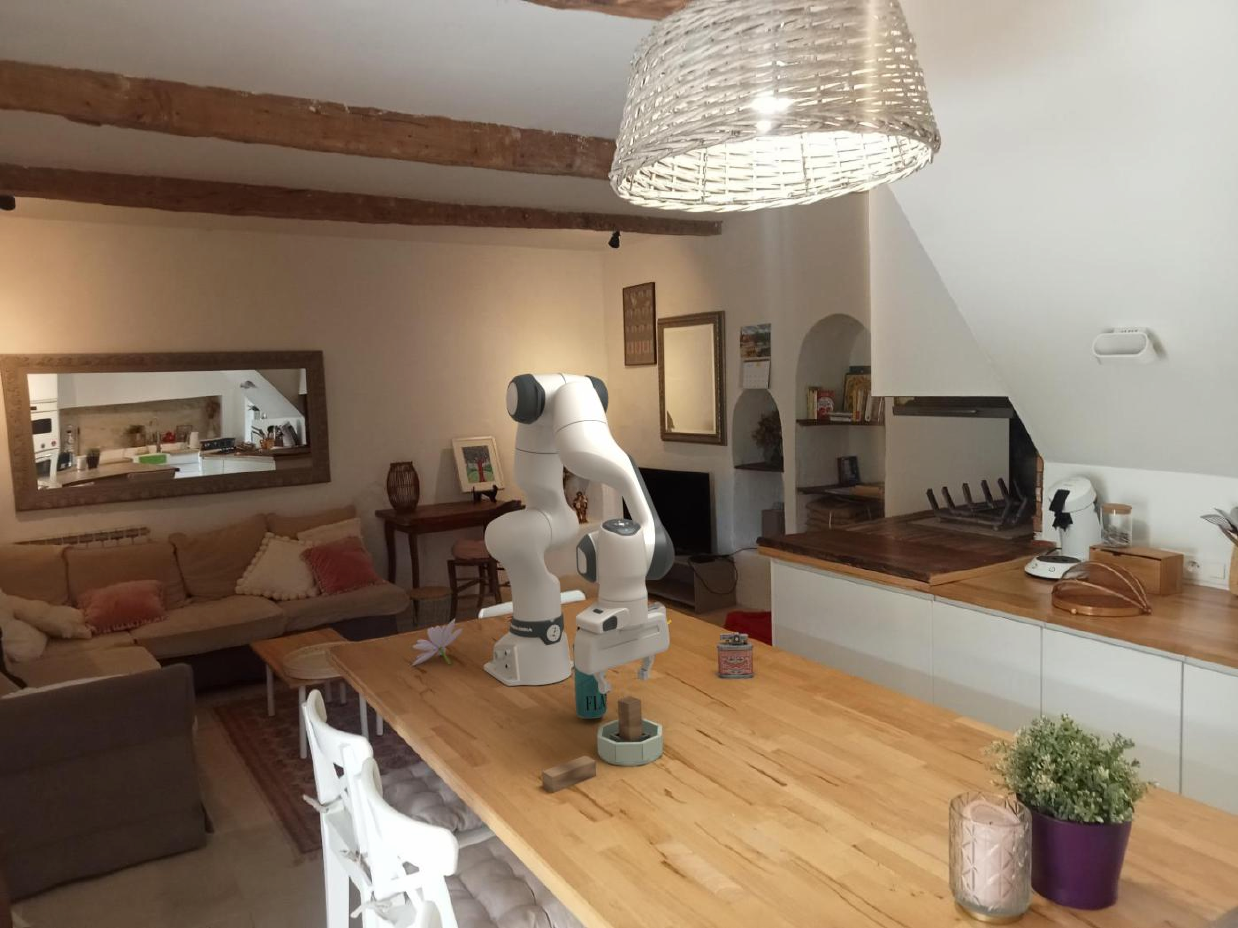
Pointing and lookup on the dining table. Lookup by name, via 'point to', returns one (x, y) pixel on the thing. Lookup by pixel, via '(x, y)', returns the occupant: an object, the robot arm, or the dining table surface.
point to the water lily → (436, 642)
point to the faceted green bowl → (630, 745)
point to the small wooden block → (569, 774)
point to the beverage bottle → (588, 695)
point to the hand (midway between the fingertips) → (624, 685)
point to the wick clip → (617, 739)
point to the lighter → (735, 657)
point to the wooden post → (629, 718)
